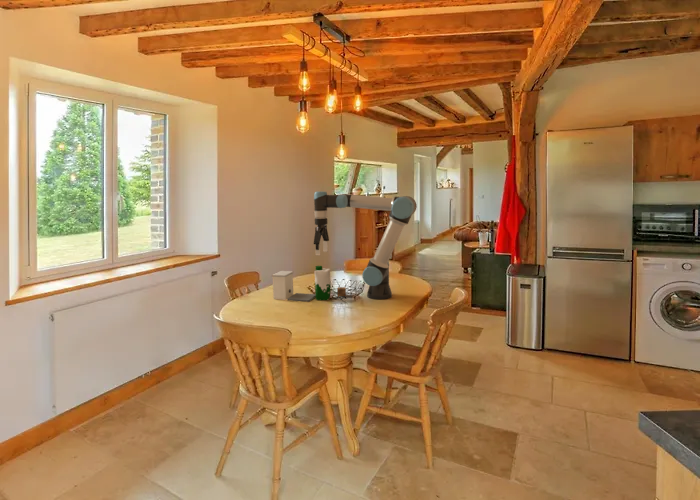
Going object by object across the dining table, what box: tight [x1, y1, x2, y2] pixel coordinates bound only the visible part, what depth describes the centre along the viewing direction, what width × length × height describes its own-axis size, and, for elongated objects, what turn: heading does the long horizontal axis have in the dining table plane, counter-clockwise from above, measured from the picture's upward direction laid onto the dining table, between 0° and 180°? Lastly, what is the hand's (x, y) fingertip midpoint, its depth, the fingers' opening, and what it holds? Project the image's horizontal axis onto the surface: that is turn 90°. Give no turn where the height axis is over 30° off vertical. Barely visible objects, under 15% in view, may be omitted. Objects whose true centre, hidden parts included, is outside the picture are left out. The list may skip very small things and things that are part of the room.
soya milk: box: [314, 265, 332, 301], centre depth 264 cm, size 9×9×20 cm
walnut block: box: [336, 286, 347, 298], centre depth 271 cm, size 5×5×5 cm
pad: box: [286, 292, 316, 303], centre depth 268 cm, size 14×14×1 cm
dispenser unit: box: [271, 270, 295, 301], centre depth 270 cm, size 9×13×15 cm
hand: (321, 253), depth 261 cm, fingers open, 13 cm apart
